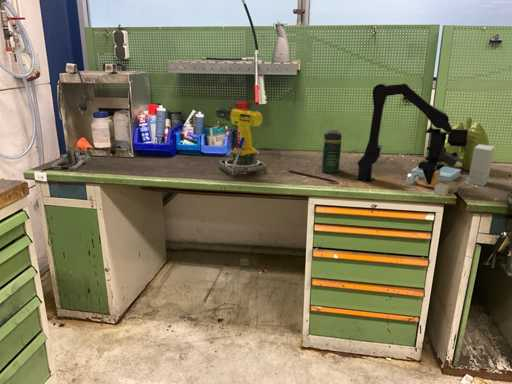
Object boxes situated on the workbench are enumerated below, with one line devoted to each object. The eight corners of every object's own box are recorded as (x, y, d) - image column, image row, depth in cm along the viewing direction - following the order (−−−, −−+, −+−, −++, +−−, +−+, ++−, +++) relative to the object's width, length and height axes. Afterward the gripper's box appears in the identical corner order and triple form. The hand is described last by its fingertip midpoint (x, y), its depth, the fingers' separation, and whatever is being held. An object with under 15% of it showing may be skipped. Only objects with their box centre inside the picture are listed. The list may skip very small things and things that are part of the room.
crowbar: (341, 180, 174) (335, 183, 171) (341, 183, 175) (334, 185, 171) (287, 168, 192) (280, 170, 188) (287, 170, 192) (280, 172, 188)
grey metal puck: (415, 185, 171) (416, 176, 170) (404, 183, 174) (405, 174, 173) (419, 183, 175) (420, 174, 173) (408, 181, 177) (410, 172, 176)
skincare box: (472, 179, 181) (478, 143, 177) (489, 182, 177) (496, 146, 173) (467, 183, 175) (473, 146, 170) (484, 186, 171) (491, 149, 166)
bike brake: (66, 159, 203) (42, 176, 185) (63, 146, 200) (38, 162, 182) (93, 161, 201) (71, 178, 184) (90, 147, 198) (67, 164, 181)
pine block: (453, 193, 162) (454, 185, 161) (442, 191, 165) (444, 182, 164) (456, 191, 165) (458, 182, 164) (446, 189, 168) (447, 180, 167)
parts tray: (448, 183, 175) (449, 176, 174) (410, 176, 184) (411, 169, 183) (459, 176, 186) (460, 169, 185) (423, 169, 196) (424, 163, 195)
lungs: (479, 166, 204) (488, 116, 196) (490, 174, 189) (501, 121, 182) (425, 163, 208) (432, 114, 200) (432, 171, 193) (440, 119, 186)
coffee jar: (338, 174, 186) (342, 132, 181) (320, 173, 188) (323, 131, 182) (339, 168, 195) (342, 129, 190) (322, 167, 197) (324, 128, 191)
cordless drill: (251, 162, 204) (250, 104, 195) (268, 171, 188) (269, 109, 179) (215, 166, 196) (213, 107, 188) (230, 177, 180) (229, 112, 172)
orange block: (434, 187, 166) (436, 173, 165) (423, 185, 169) (425, 171, 167) (438, 185, 170) (440, 171, 168) (427, 183, 172) (429, 168, 171)
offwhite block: (444, 196, 159) (445, 187, 158) (433, 194, 162) (435, 185, 160) (447, 194, 162) (449, 185, 161) (437, 191, 164) (438, 183, 163)
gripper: (450, 151, 153) (444, 192, 157) (465, 144, 166) (458, 181, 171) (420, 147, 159) (414, 186, 164) (436, 140, 173) (431, 176, 178)
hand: (431, 182), depth 169 cm, fingers closed on orange block, 4 cm apart
